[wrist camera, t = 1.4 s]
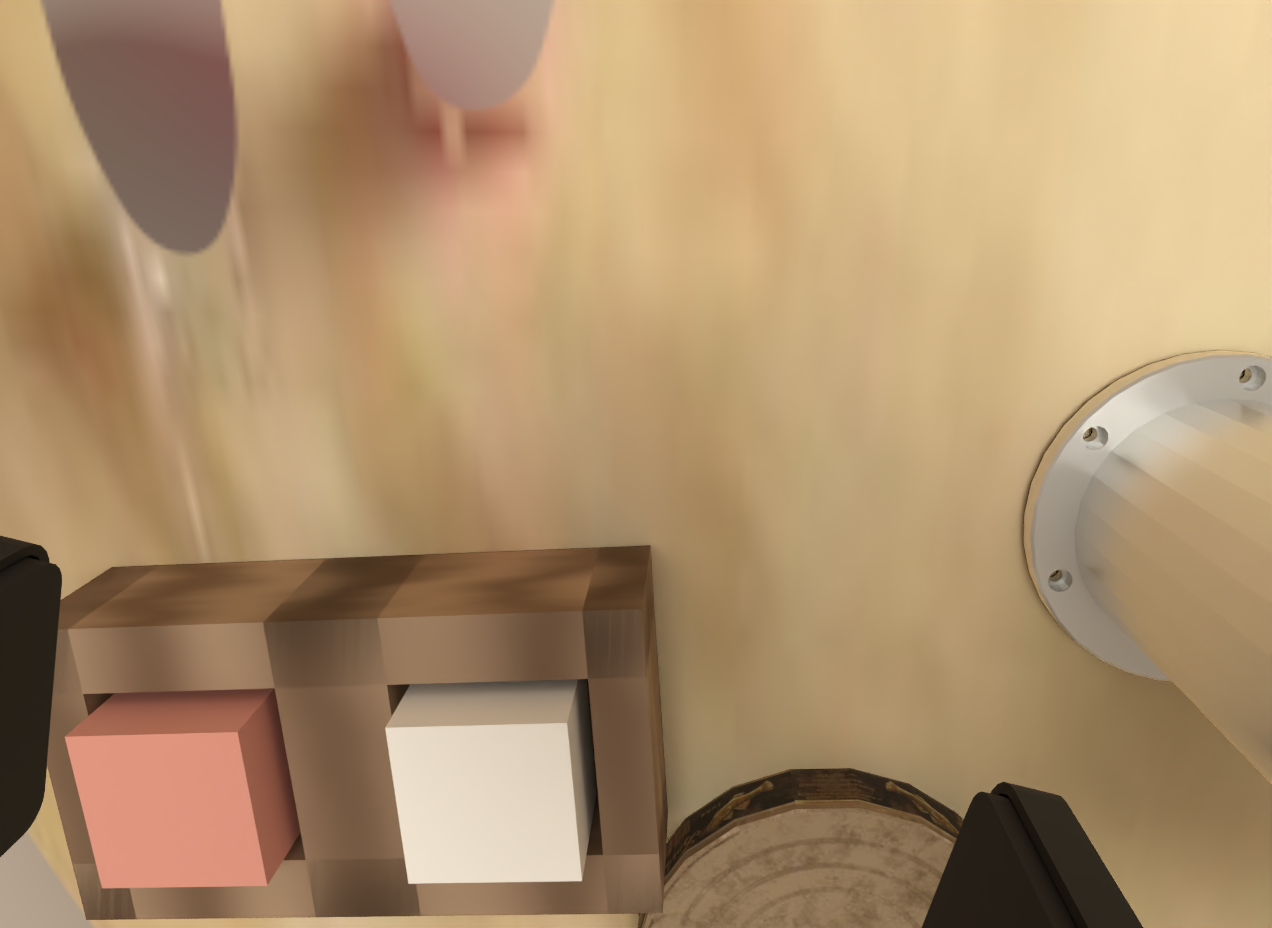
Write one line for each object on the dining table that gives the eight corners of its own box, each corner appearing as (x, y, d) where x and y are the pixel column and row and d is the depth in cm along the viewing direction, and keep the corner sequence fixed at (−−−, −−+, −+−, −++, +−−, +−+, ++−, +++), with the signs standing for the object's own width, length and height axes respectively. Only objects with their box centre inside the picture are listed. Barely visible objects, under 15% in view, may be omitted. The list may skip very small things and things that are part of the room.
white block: (584, 652, 36) (567, 722, 32) (596, 793, 38) (581, 881, 33) (426, 657, 37) (385, 727, 32) (444, 796, 38) (408, 883, 34)
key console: (650, 545, 38) (642, 608, 32) (667, 812, 41) (662, 913, 36) (111, 567, 40) (13, 631, 34) (168, 822, 43) (86, 919, 37)
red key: (296, 661, 37) (237, 732, 32) (320, 799, 39) (267, 885, 34) (145, 666, 38) (64, 736, 33) (175, 802, 39) (101, 888, 34)
